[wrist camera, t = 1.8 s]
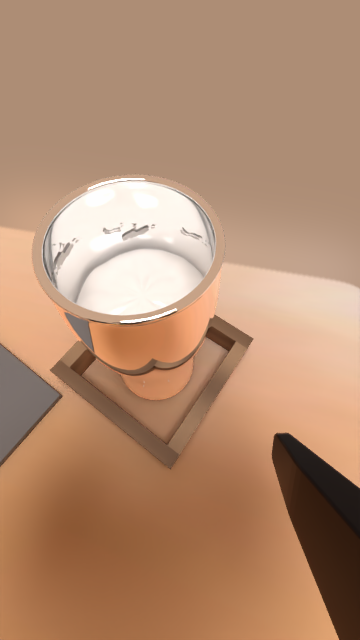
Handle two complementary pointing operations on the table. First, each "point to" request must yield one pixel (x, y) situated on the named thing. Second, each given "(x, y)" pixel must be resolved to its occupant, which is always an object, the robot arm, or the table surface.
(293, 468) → the robot arm
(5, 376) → the rubber mat
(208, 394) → the brown square tray
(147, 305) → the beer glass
